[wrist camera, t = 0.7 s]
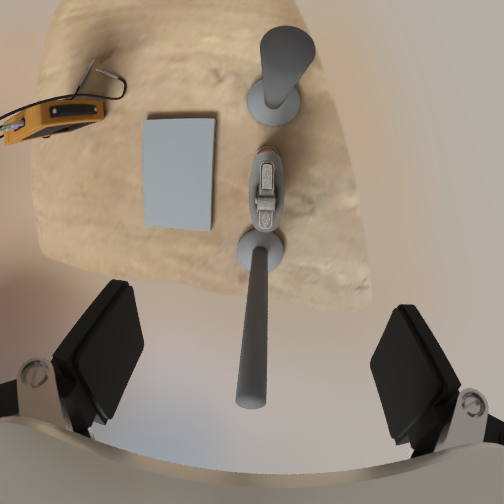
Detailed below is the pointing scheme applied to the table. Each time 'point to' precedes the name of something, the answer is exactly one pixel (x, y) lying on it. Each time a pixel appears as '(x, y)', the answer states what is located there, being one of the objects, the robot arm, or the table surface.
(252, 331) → the far cord post
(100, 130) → the table surface
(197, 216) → the mat
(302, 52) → the post
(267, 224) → the lighter
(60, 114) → the multimeter
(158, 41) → the table surface
